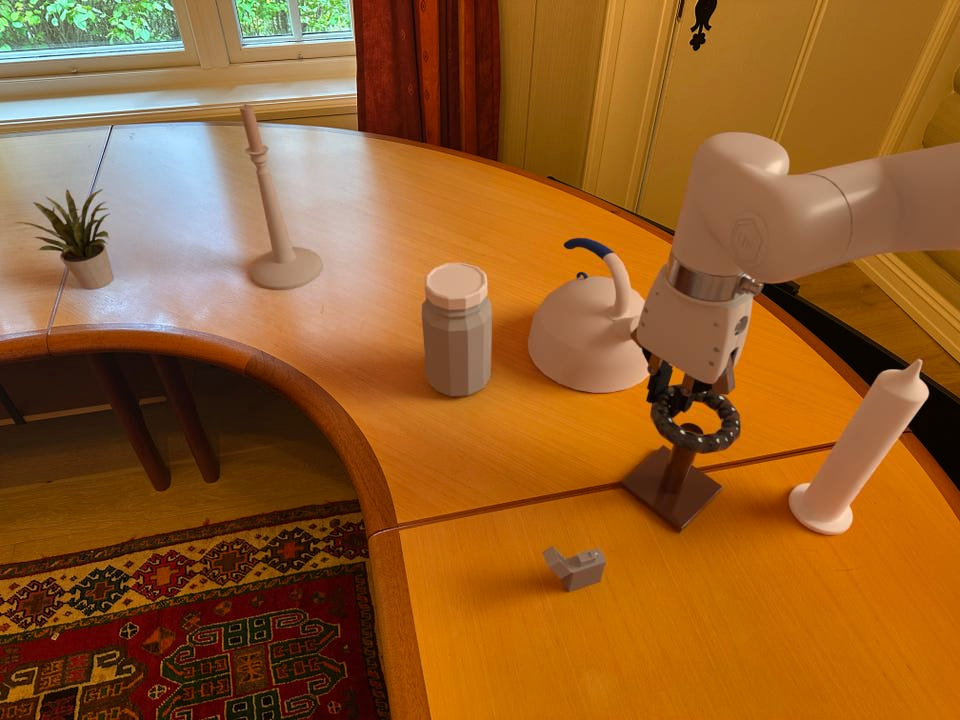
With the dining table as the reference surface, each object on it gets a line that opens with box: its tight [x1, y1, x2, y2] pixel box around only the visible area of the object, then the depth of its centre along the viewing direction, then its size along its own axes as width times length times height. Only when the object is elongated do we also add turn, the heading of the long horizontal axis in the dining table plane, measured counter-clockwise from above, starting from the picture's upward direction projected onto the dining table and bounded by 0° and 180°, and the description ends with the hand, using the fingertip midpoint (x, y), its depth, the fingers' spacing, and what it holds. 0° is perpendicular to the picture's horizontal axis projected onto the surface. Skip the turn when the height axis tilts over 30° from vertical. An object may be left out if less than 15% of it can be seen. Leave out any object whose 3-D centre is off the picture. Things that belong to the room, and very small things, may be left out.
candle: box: [788, 358, 930, 536], centre depth 66 cm, size 7×7×25 cm
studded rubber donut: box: [649, 383, 742, 455], centre depth 67 cm, size 10×10×2 cm
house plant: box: [16, 188, 115, 290], centre depth 104 cm, size 14×14×16 cm
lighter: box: [541, 545, 607, 593], centre depth 64 cm, size 7×2×8 cm, turn 109°
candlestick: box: [239, 103, 324, 291], centre depth 102 cm, size 13×13×30 cm
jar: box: [421, 262, 493, 398], centre depth 85 cm, size 10×10×18 cm
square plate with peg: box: [619, 422, 724, 534], centre depth 73 cm, size 9×9×11 cm
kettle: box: [527, 237, 650, 394], centre depth 90 cm, size 20×21×18 cm
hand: (666, 403), depth 70 cm, fingers closed on studded rubber donut, 2 cm apart
